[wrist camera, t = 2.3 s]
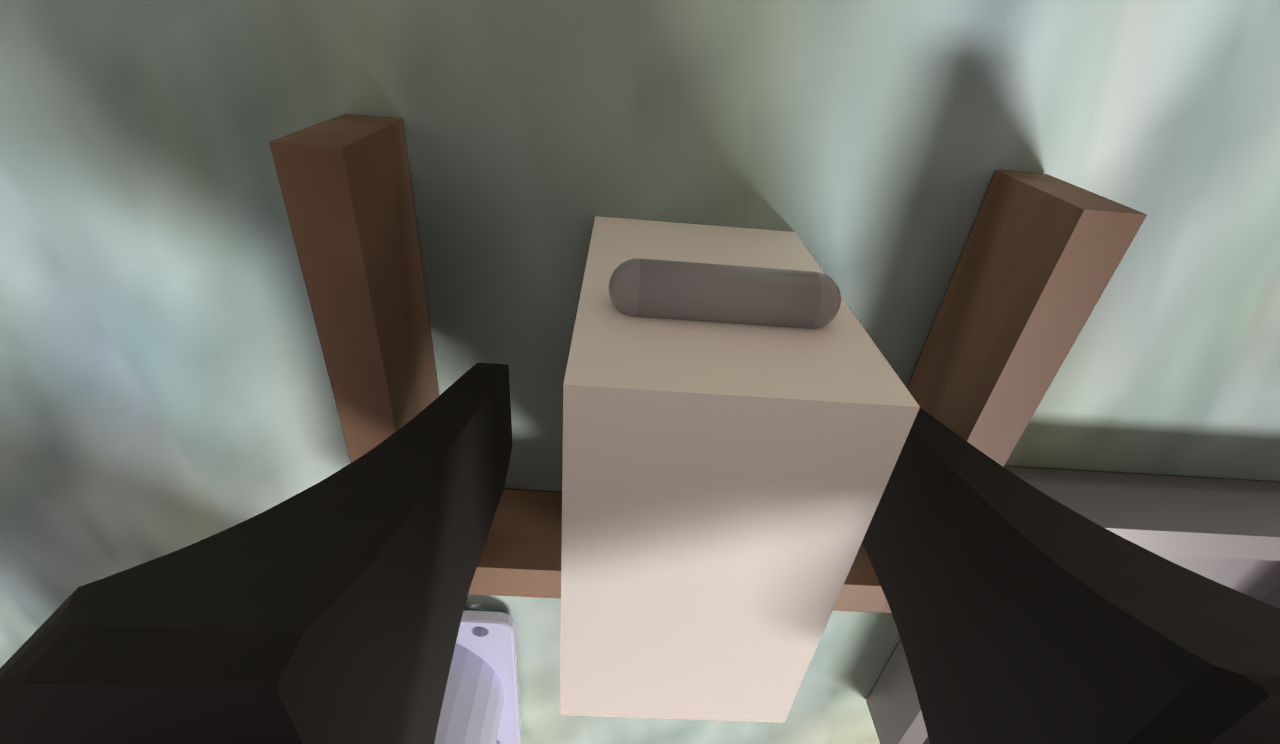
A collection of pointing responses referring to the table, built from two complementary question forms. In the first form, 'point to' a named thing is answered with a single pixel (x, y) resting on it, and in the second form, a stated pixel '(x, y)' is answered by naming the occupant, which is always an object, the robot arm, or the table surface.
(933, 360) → the bay
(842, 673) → the table surface
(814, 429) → the beige rectangular block
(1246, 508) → the tray
